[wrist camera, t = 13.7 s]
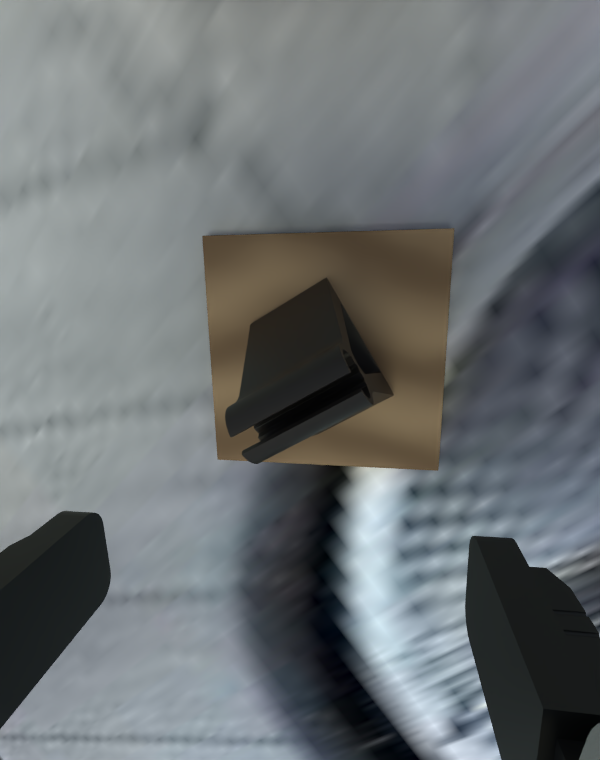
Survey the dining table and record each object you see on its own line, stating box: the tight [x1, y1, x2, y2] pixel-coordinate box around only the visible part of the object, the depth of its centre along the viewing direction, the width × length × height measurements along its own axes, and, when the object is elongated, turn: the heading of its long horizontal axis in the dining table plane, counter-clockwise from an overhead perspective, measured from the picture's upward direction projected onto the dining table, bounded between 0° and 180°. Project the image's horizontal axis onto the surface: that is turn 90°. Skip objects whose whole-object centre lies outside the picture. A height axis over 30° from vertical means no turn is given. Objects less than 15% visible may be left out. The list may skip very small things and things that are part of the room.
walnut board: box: [202, 228, 454, 470], centre depth 30 cm, size 16×16×1 cm
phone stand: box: [225, 277, 394, 464], centre depth 24 cm, size 9×6×12 cm, turn 31°
